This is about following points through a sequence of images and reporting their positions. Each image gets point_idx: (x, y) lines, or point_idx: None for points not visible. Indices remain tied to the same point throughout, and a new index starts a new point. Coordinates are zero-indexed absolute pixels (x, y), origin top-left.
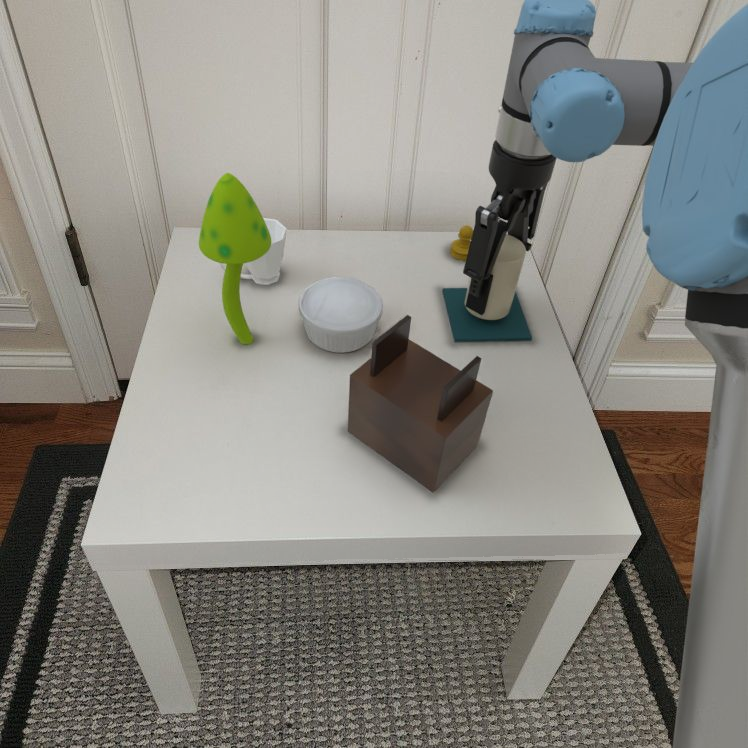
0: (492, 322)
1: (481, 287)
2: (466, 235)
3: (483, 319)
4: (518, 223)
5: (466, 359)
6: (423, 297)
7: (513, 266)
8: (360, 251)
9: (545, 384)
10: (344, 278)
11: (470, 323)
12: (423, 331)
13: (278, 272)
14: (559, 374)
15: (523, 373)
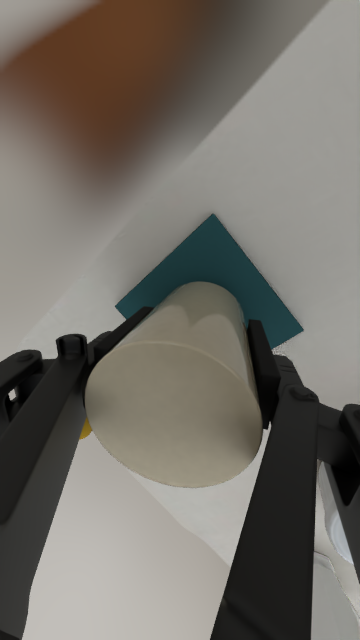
0: None
1: (286, 372)
2: (87, 425)
3: None
4: (47, 469)
5: (336, 290)
6: None
7: (215, 346)
8: (194, 496)
9: (326, 111)
10: (339, 547)
11: (247, 326)
12: (303, 377)
13: (316, 568)
14: (275, 102)
15: (316, 175)
